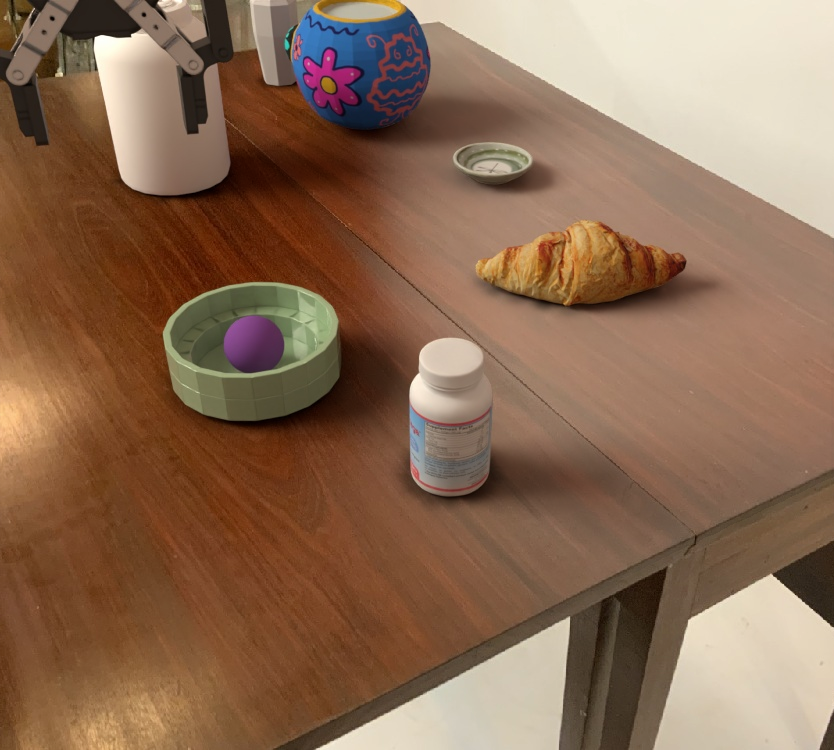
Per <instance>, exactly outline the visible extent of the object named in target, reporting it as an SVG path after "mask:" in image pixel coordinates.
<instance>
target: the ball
mask: <svg viewBox="0 0 834 750" xmlns="http://www.w3.org/2000/svg"><path fill="white" fill-rule="evenodd" d="M224 351H225V355H226V357H227V359H228V361H229V362H230V363H231V365H232V366H233V367H235V368H236V369H237V370H239V371H241V372H243V373H257V372H262V371H268V370H271V369H273V368H274V367H275V366H276V365H277V364H278V363H279V361H280V360H281V358H282V356H283V353H284V338H283V335H282V333H281V331H280V329H279V328H278V327H277V325H276V324H275V323H273V322H272V321H271V320H269V319H267V318H264V317H261V316H247V317H243V318H241V319H239V320H237V321H236V322H234V323H233V324H232V325H231V326H230V328H229V329H228V331H227V333H226V335H225V338H224Z"/></svg>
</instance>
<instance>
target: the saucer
mask: <svg viewBox="0 0 834 750" xmlns="http://www.w3.org/2000/svg"><path fill="white" fill-rule="evenodd" d="M452 163H453V165H454V166H455V168H457V169H458V170H459V171H461V173H462V174H464V175H465V176H467V177H468V178H471V179H474V180H475V181H477V183H481V184H485V185H502V184H507V183H509V182H510V181H512V180H516V179H518V178H519V177H521V176H523V175H524V174H526V172H528V171H529V170H531V169H532V167H533V164H534V158H533V155H532V154H531V153H530V152H529V151H528V150H526V149H524V148H522V147H520V146H517V145H514V144H510V143H505V142H504V143H503V142H495V141H494V142H493V141H489V142H487V141H484V142H483V141H482V142H475V143H471V144H467V145H465V146H462V147H460V148H459V149H457V150H456V151H455V152H454V154H453V156H452Z"/></svg>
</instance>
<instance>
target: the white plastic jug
mask: <svg viewBox="0 0 834 750" xmlns="http://www.w3.org/2000/svg"><path fill="white" fill-rule="evenodd" d="M158 4H159V5H160V6H161V8H162V9H163V10H164V11H165V12H166V13H167V14H168V15H169V16H170V17H171V19H172V20H173V21H174V23H175V24H176V25H177V26H178V27H179V28H180V29H181V30H182V31H183V32H184V34H185V35H186V36H187V37H188V38H189V39H190V40H191V41H192V42H195V41H197V40H199V39H202V38H204V37H206V30H205V24H204V22H202V21H201V20H200V19H198V18H197V16H194V15H193V11H192V7H191V6H190V4H189V3H188V0H159V1H158ZM131 37H132V38H114V37H109V36H104V35H101V36H98V37H94V42H93V52H94V58H95V62H96V67H97V71H98V76H99V77H98V78H99V81H100V86H101V89H102V95H103V99H104V105H105V109H106V115H107V119H108V124H109V128H110V133H111V139H112V143H113V149H114V153H115V157H116V162H117V163H116V164H117V168H118V171H119V174H120V178H121V180H122V182H123V183H124V184H125V185H126V186H128V187H129V188H131V189H132V190H134V191H137V192H139V193H143V194H147V195H156V196H180V195H186V194H192V193H193V194H194V193H197V192H200V191H204V190H207V189H210V188H212V187H214V186H215V185H218V184H220V183H221V182H223V180H224V179H225V178H226V177H227V176H228V175H229V171H230V167H231V156H230V148H229V142H228V134H227V127H226V121H225V120H226V119H225V112H224V104H223V96H222V90H221V82H220V76H219V68H218V63H216V64H214V65H211V66H210V67H208V68H207V69H206V71H205V73H204V84H205V93H206V101H207V110H208V118H207V121H206V124H198V129H199V134H188V135H187V132H186V129H185V126H184V121H183V114H182V107H181V99H180V92H179V84H178V77H177V69H176V65H179V64H178V63H177V62H176V61H175V60H174V59H173V58H172V57H171V56H170V55H169V54H168V53H167V52H166V51H165V50H164V49H162V48H161V47H160V46H159V45H158V44H157V43H156V42H155V41H154V40H153V39H152V38H151V37H150V36H149V35H148V34H147V33H146V32H145V31H144V30H143V29H141V30H139V31H138V32H136V33H134V34H131Z"/></svg>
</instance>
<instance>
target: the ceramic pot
mask: <svg viewBox="0 0 834 750" xmlns="http://www.w3.org/2000/svg"><path fill="white" fill-rule="evenodd" d="M425 35H426V34H425V32H424V30H423V28H422V26H421V24H420V22H419V20H418V18H417V17H416V15H415V14H414V12H413V11H411V9H410V8H409V7H408V6H406V5H405V4H403V3H402V2H401V1H399V0H320V1H318V2H316V3H314V4H313V5H312V7H310V8H309V10H308V11H306V13H305V14H304V15H303V17H302V19H301V21H300V22H298V24H297V25H295V26H293V27H292V28H291V29H290V30H289V31H288V33H287V35H286V38H285V50H286V54H287V56H288V58H289V60H290V61H291V63H292V64H293V69H294V74H295V78H296V81H295V82H296V85H297V87H298V89H299V92H300V94H301V95H302V97H303V99H304V100H305V101H306V103H307V104H308V106H309V107H310V109H311V110H312V111H313V112H314V113H316V114H317V115H318V116H319V117H320V118H322V119H323V120H324V121H326V122H329V123H332V124H333V125H336V126H339V127H343V128H346V129H349V130H350V129H351V130H359V131H360V130H362V131H367V130H368V131H370V130H378V129H383V128H386V127H390V126H392V125H394V124H397V123H399V122H400V121H403V120H404V119H406V118H409V116H410V115H411V114H412V113H413V112H414V111H415V109H416V108H417V107H418V106H419V103H420V102H421V100H422V98H423V96H424V94H425V92H426V90H427V87H428V85H429V80H430V77H431V76H430V75H431V67H432V64H431V63H432V61H431V55H430V50H429V45H428V40H427V37H426V36H425Z"/></svg>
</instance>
